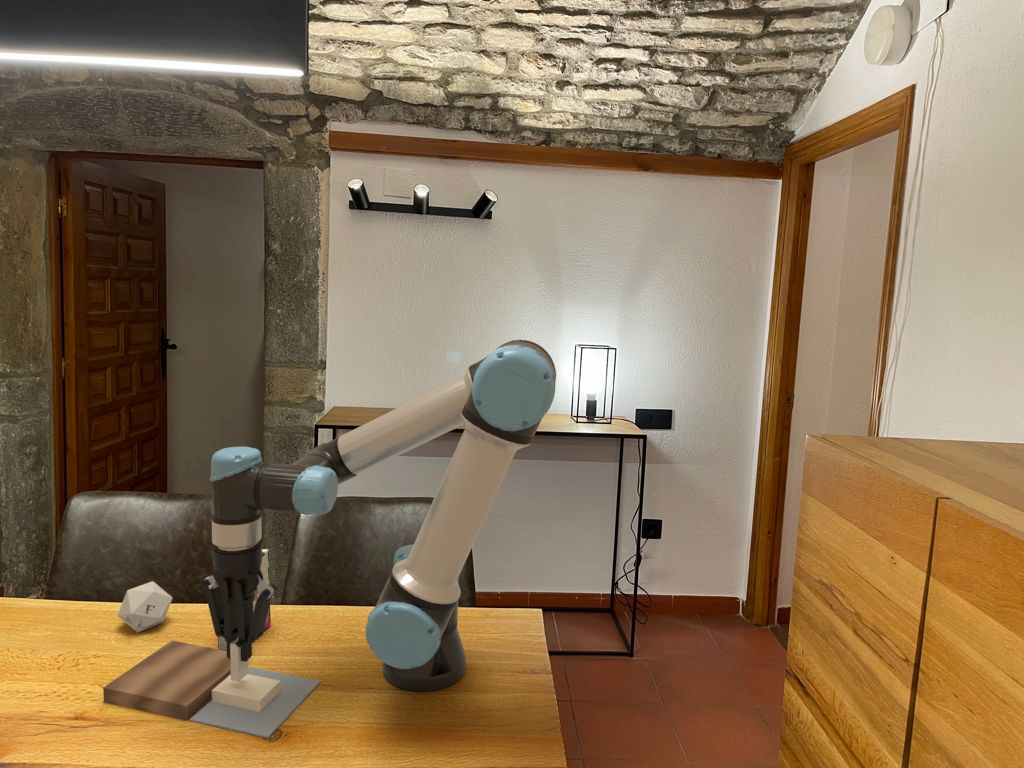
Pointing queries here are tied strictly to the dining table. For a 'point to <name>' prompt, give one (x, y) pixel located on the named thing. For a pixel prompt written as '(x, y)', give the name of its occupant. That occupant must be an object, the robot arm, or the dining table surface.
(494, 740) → the dining table surface
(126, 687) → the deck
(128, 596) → the die
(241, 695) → the cream rectangular tile
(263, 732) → the mat
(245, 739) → the dining table surface
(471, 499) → the robot arm
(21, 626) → the dining table surface
